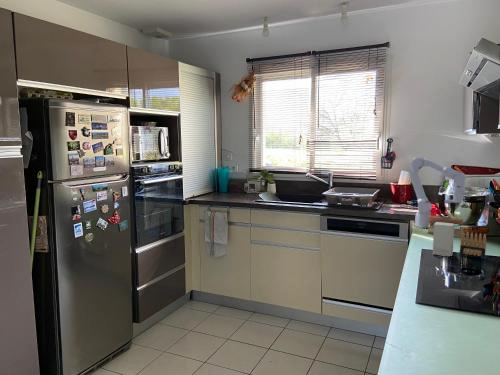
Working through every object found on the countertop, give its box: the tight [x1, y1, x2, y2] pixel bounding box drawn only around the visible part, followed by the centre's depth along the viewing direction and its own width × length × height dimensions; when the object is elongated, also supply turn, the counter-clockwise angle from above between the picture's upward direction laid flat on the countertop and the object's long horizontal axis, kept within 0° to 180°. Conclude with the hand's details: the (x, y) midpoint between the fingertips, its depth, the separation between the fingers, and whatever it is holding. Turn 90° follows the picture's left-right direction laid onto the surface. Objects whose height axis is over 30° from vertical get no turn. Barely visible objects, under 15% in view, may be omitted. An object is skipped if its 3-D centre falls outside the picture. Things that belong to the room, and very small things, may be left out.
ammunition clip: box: [459, 230, 487, 258], centre depth 187 cm, size 11×2×12 cm, turn 58°
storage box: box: [427, 223, 464, 238], centre depth 234 cm, size 12×18×4 cm, turn 65°
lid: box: [429, 215, 465, 225], centre depth 234 cm, size 13×18×1 cm
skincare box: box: [432, 222, 455, 256], centre depth 189 cm, size 8×7×16 cm
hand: (457, 215), depth 238 cm, fingers open, 3 cm apart
